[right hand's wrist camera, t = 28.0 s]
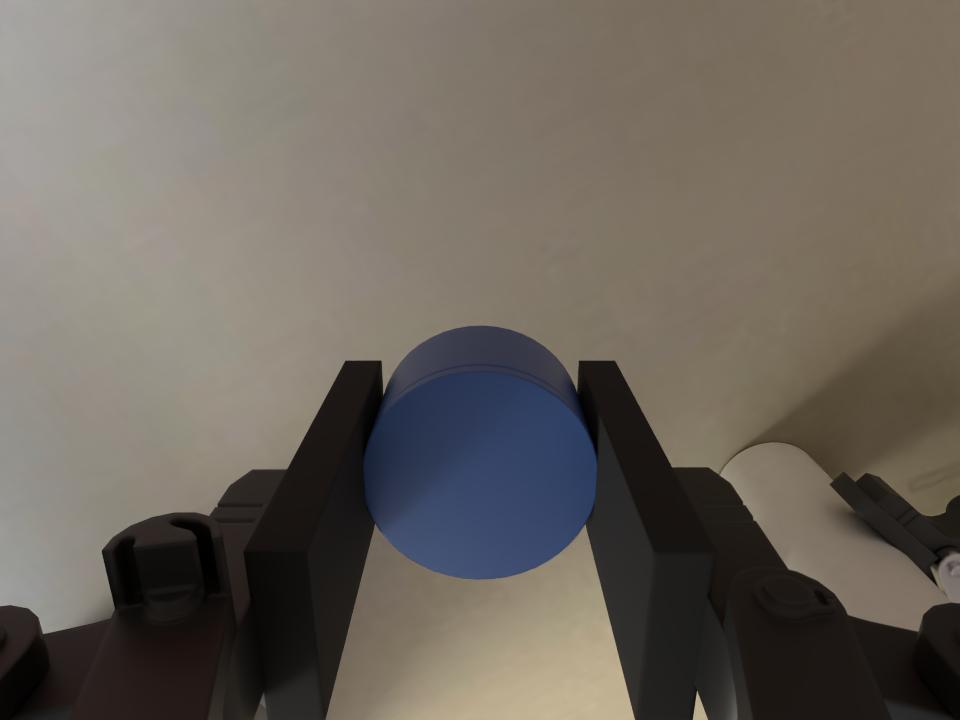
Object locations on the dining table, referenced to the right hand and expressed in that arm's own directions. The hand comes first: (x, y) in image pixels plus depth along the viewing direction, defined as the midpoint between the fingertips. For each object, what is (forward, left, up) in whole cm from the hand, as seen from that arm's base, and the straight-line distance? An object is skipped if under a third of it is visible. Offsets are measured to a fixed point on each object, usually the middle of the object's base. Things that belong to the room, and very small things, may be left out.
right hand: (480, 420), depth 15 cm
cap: (0, 0, +2) cm, 2 cm away
